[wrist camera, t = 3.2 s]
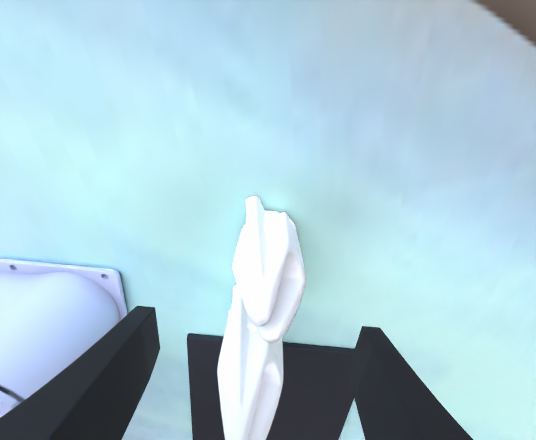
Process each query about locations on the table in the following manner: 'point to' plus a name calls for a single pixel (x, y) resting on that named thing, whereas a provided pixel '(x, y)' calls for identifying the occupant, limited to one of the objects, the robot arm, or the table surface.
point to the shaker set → (259, 321)
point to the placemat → (292, 394)
